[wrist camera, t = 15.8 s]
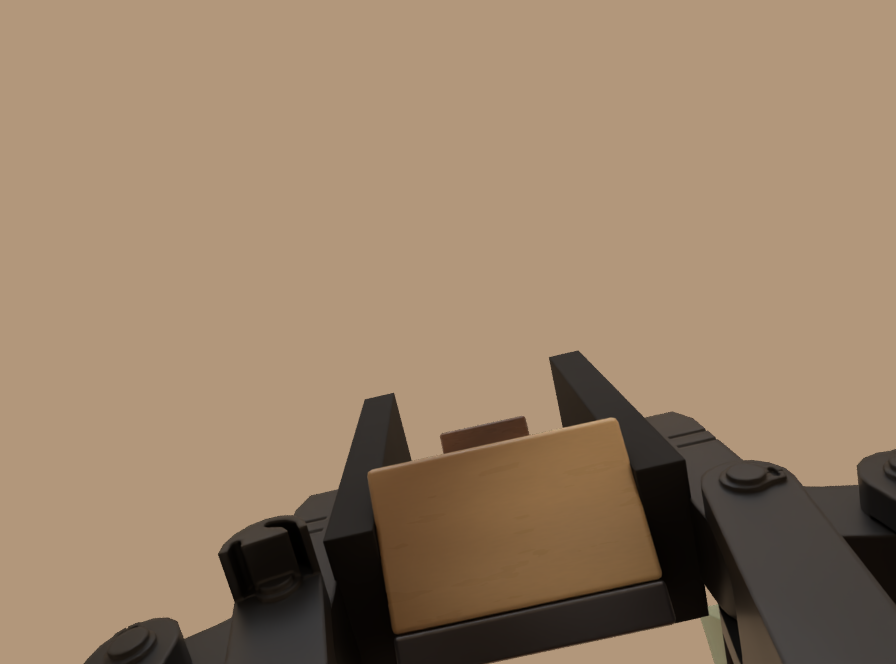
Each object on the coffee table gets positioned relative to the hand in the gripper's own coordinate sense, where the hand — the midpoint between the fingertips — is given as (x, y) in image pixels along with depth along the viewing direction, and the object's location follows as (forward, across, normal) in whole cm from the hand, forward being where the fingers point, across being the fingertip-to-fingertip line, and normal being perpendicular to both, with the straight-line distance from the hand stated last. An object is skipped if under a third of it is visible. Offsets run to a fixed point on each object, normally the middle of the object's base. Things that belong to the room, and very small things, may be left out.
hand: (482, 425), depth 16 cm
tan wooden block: (0, 0, -5) cm, 5 cm away
